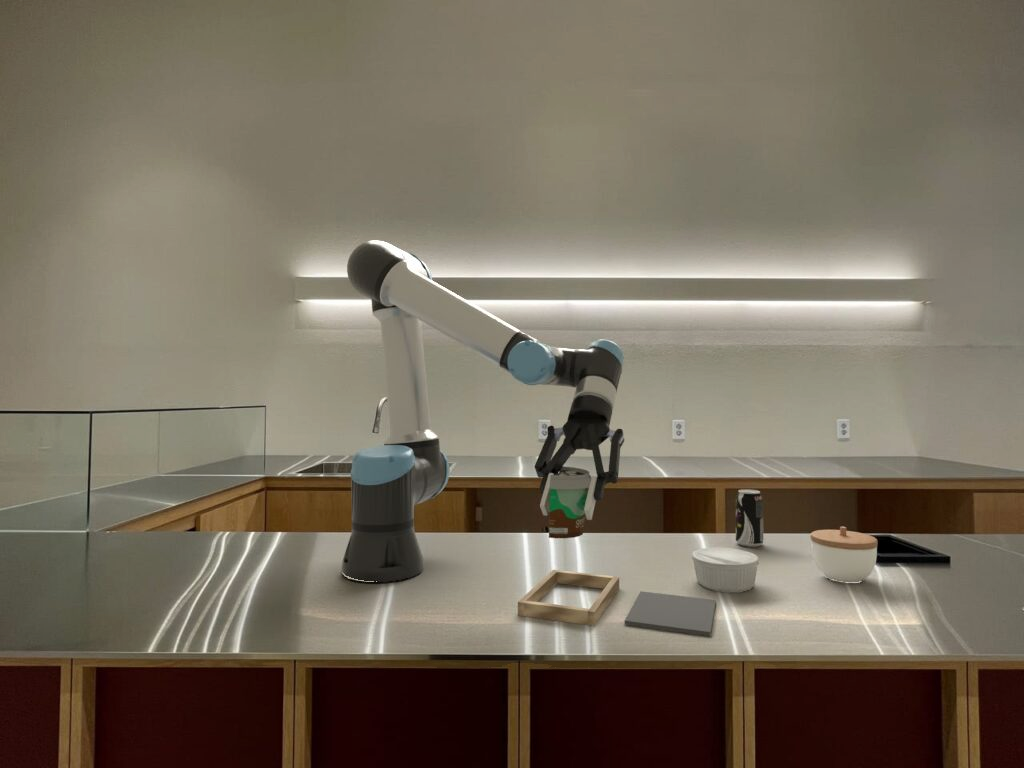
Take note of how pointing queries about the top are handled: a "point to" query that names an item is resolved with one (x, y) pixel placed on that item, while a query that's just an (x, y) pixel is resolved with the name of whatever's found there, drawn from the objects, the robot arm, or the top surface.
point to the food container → (568, 502)
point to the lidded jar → (844, 554)
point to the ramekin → (725, 569)
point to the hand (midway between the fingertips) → (565, 512)
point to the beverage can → (749, 518)
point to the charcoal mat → (672, 613)
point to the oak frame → (567, 613)
